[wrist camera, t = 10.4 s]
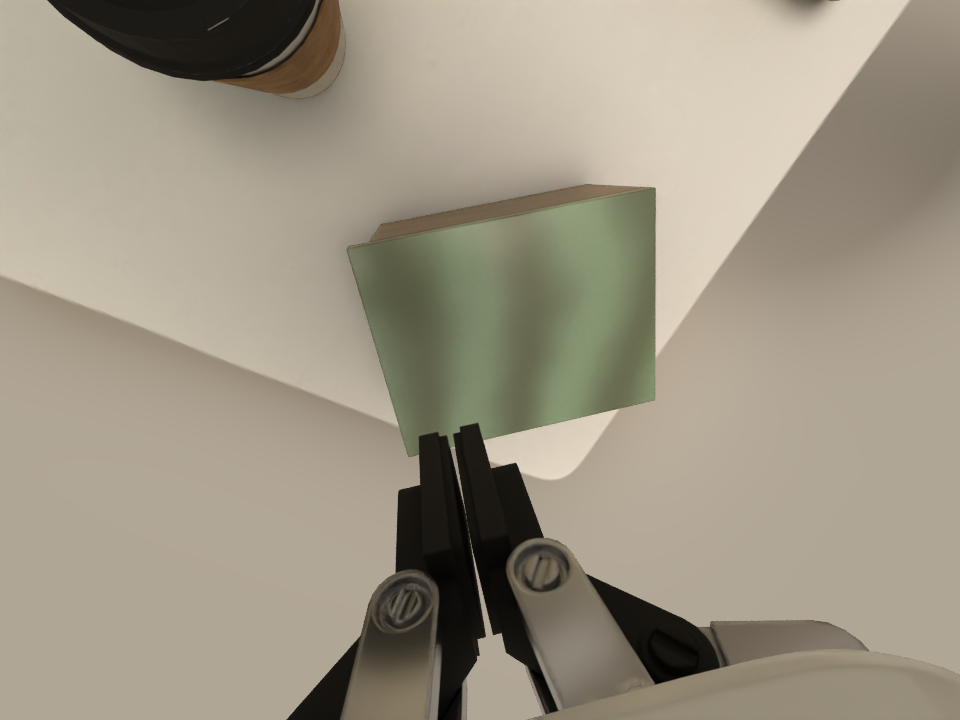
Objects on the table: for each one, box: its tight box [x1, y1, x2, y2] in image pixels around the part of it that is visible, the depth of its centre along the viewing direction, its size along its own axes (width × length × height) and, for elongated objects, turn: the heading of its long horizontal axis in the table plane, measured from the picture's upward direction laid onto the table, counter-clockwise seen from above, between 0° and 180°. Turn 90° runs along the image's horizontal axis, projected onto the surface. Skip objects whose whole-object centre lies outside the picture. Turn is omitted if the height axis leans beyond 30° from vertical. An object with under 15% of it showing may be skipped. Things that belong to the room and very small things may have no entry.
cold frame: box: [369, 184, 646, 242], centre depth 26 cm, size 14×12×8 cm
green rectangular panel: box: [347, 187, 656, 457], centre depth 22 cm, size 14×12×1 cm
